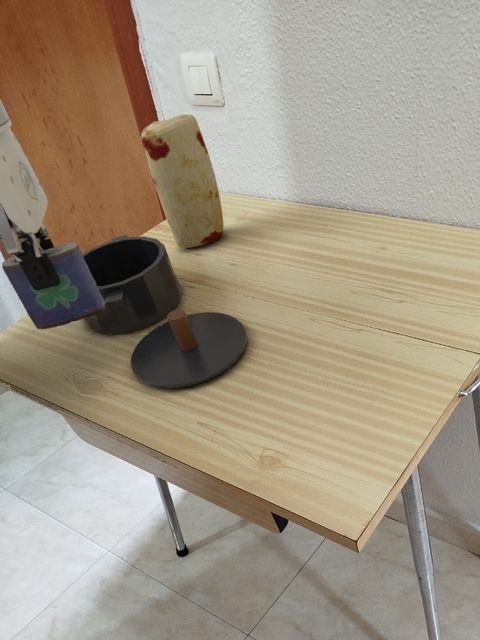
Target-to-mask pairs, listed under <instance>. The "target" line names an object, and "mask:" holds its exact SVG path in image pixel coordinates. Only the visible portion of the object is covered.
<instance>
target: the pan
mask: <svg viewBox="0 0 480 640" xmlns="http://www.w3.org/2000/svg"><path fill="white" fill-rule="evenodd" d="M82 255H83V257H84V260H85V262H86V264H87V266H88V268H89V270H90V273H91V274H92V277H93V278H94V280H95V282H96V285H97V287H98V289H99V291H100V293H101V295H102V297H103V299H104V301H105V304H106V305H105V307H106V308H105V309H104V311H102V312H99V313H97V314H96V315H93V316H90V317H88V318H84V319H83V320H84V321H85V322H86V323H87V325H88V327H89V328H90V330H92V331H94V332H96V333H99V334H103V335H113V336H114V335H125V334H130V333H134V332H137V331H141V330H143V329H146V328H149V327H151V326H153V325H155V324H158V323H159V322H160V321H162V320H164V319H165V318H167V315H168V314H169V313H170V312H171V311H173V310H176V308H177V306H178V305H179V303H180V302H181V301H180V300H181V299H182V293H181V289H180V284H179V281H178V279H177V276H176V273H175V271H174V268H173V265H172V262H171V259H170V257H169V254H168V251H167V249H166V246H165V244H164V243H162V242H161V241H160V240H159V239H157V238H153V237H148V236H129V237H128V234H124V235H119V236H115V237H112V238H111V240H110V241H107V242H104V243H102V244H100V245H97V246H94V247H93V248H90V249H88V250H87V251H85V252H84V253H82Z"/></svg>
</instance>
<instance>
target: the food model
mask: <svg viewBox="0 0 480 640" xmlns="http://www.w3.org/2000/svg"><path fill="white" fill-rule="evenodd" d="M140 136H141V138H140V139H141V143H142V146H143V150H144V153H145V156H146V162H147V165H148V170H149V173H150V176H151V179H152V182H153V186H154V189H155V190H156V193H157V197H158V200H159V202H160V204H161V205H160V206H161V209H162V210H163V214H164V216H165V219H166V222H167V223H168V225H169V228H170V230H171V234H172V236H173V239H174V242H175V244H176V246H178V247H180V248H186V249H188V248H194V247H199V246H204V245H206V244H210V243H212V242H214V241H217V240H220V238H222V236H224V235H223V234H224V229H225V228H224V216H223V208H222V203H221V197H220V192H219V186H218V183H217V178H216V174H215V171H214V168H213V164H212V160H211V157H210V154H209V152H208V148H207V145H206V142H205V140H204V137H203V134H202V132H201V129H200V126H199V123H198V121H197V119H196V117H195V116H194V115H193V114H179V115H177V116H174V117H171V118H168V119H163V120H156V121H153V122H151V123H150V124H148V125H147V126H145V128H143V130H142V131H141V135H140Z"/></svg>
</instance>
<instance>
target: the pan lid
mask: <svg viewBox="0 0 480 640" xmlns="http://www.w3.org/2000/svg"><path fill="white" fill-rule="evenodd" d="M166 318H167V321H166V322H164V323H161V324H160V325H158V326H156V327H155V328H154V329H151V331H149V332H148V333H147V334H145V336H143V337H142V338H141V340H140V341H138V343H137V344H136V346H135V347H134V349H133V351H132V354H131V355H130V367H131V370H132V372H133V374H134V375H135V377H136V378H137V379H138V380H139V381H141V382H142V383H144V384H146V385H148V386H152V387H154V388H155V387H157V388H161V389H162V388H164V389H174V388H175V389H177V388H184V387H189V386H193V385H197V384H200V383H203V382H205V381H207V380H210V379H212V378H214V377H216V376H218V375H219V374H221V373H223V372H224V371H226V370H227V369H228V368H230V367H231V366H233V364H235V362H237V360H239V358H240V357H241V355H242V354H243V353H244V350H245V348H246V346H247V342H248V335H247V331H246V328H245V326H244V325H243V323H242V322H241V321H240V320H239V319H237V318H236V317H234V316H232V315H230V314H226V313H222V312H214V311H206V312H205V311H204V312H203V311H202V312H195V313H194V312H193V313H189V314H187V313H186V310H185V309H183V308H181V309H180V308H177V309H174V310H173V311H171V312H170V313H169V314H168V315H167V316H166Z"/></svg>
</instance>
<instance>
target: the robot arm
mask: <svg viewBox="0 0 480 640" xmlns="http://www.w3.org/2000/svg"><path fill="white" fill-rule="evenodd" d="M12 126H13V123H12V120H11V118H10V116H9V114H8V112H7V110H6V108H5V106H4V103H3V101H2V99H1V98H0V242H2V243H3V246H4V249H5V252H6V253H7V254H8V255H12V256H13V255H14V256H15V258H16V260H17V262H19V264H20V265H21V267H22V269H23V271H24V273H25V275H26V277H27V278H28V280H29V282H30V284H31V286H32V288H33V289H34V290H42V289H46V288H50V287H55V286H58V285H60V279H59V277H58V275H57V273H56V271H55V269H54V267H53V265H52V263H51V261H50V259H49V257H48V255H47V253H43V252H42V250H41V248H42V249H43V251H44V250H48V249H50V248H53V247H55V245H54V243H53V241H52V239H51V238H49V237H50V235H49V232H48V229H47V228H46V225H45V224H44V222H43V221H44V218H45V215H46V213H47V209H48V204H49V201H48V197H47V195H46V192H45V190H44V188H43V186H42V185H41V183H40V180H39V178H38V177H37V175H36V172H35V170H34V169H33V166H32V165H31V163H30V161H29V159H28V157H27V156H26V154H25V152H24V150H23V148H22V146H21V144H20V142H19V141H18V139H17V137H16V136H15V134H14V132H13V131H12V129H11V127H12ZM37 238H39V239H40V242H39V243H40V246H39V243H38V241H37ZM20 239H21V240H20ZM22 240H23V241H22ZM28 242H29V243H30V244H29V243H28ZM40 247H41V248H40Z"/></svg>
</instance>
